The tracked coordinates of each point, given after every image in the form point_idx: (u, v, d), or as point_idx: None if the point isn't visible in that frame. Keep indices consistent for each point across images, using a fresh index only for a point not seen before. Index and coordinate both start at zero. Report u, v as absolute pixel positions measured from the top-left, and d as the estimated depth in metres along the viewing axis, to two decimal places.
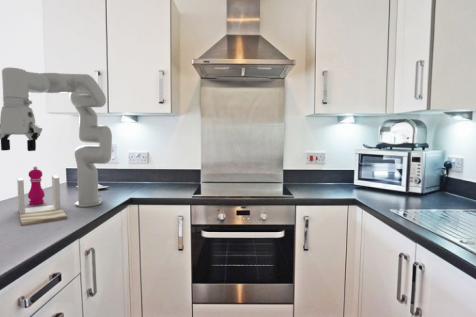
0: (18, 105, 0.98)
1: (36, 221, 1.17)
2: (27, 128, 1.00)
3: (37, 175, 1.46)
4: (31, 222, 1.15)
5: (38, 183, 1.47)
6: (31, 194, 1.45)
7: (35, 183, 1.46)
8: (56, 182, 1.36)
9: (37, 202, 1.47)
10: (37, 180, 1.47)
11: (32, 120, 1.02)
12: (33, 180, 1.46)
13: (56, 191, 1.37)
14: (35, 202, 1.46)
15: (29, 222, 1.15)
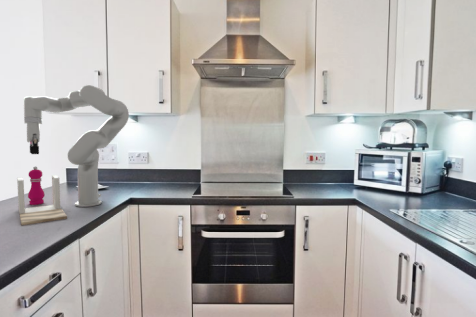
0: None
1: (36, 221, 1.17)
2: None
3: (37, 175, 1.46)
4: (31, 222, 1.15)
5: (38, 183, 1.47)
6: (31, 194, 1.45)
7: (35, 183, 1.46)
8: (56, 182, 1.36)
9: (37, 202, 1.47)
10: (37, 180, 1.47)
11: None
12: (33, 180, 1.46)
13: (56, 191, 1.37)
14: (35, 202, 1.46)
15: (29, 222, 1.15)
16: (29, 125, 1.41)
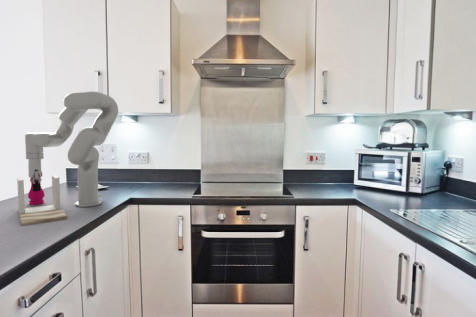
0: None
1: (36, 221, 1.17)
2: None
3: None
4: (31, 222, 1.15)
5: None
6: (31, 194, 1.45)
7: None
8: (56, 182, 1.36)
9: (37, 202, 1.47)
10: None
11: None
12: None
13: (56, 191, 1.37)
14: (35, 202, 1.46)
15: (29, 222, 1.15)
16: (31, 161, 1.43)
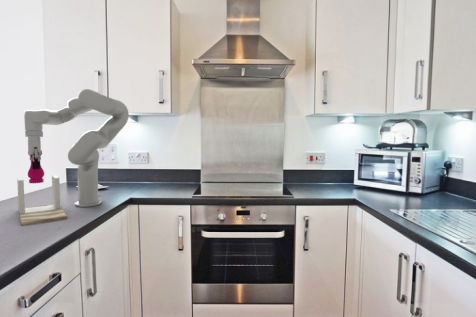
0: None
1: (36, 221, 1.17)
2: None
3: None
4: (31, 222, 1.15)
5: None
6: (30, 172, 1.44)
7: None
8: (56, 182, 1.36)
9: (37, 181, 1.45)
10: None
11: None
12: (32, 158, 1.44)
13: (56, 191, 1.37)
14: (35, 180, 1.45)
15: (29, 222, 1.15)
16: (30, 138, 1.41)
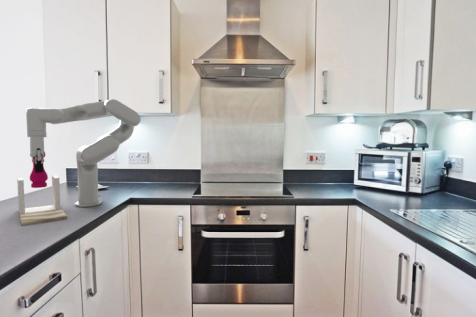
0: None
1: (36, 221, 1.17)
2: None
3: None
4: (31, 222, 1.15)
5: None
6: (33, 176, 1.32)
7: None
8: (56, 182, 1.36)
9: (40, 185, 1.33)
10: None
11: None
12: None
13: (56, 191, 1.37)
14: (37, 185, 1.33)
15: (29, 222, 1.15)
16: (32, 139, 1.29)
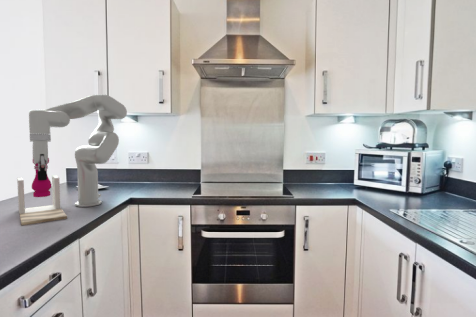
0: None
1: (36, 221, 1.17)
2: None
3: None
4: (31, 222, 1.15)
5: None
6: (35, 184, 1.20)
7: None
8: (56, 182, 1.36)
9: (43, 194, 1.21)
10: None
11: None
12: (37, 168, 1.20)
13: (56, 191, 1.37)
14: (40, 194, 1.21)
15: (29, 222, 1.15)
16: (35, 144, 1.18)
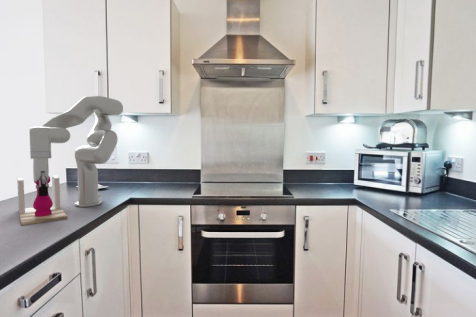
0: None
1: (36, 221, 1.17)
2: None
3: None
4: (31, 222, 1.15)
5: None
6: (36, 204, 1.21)
7: None
8: (56, 182, 1.36)
9: (44, 213, 1.22)
10: None
11: None
12: None
13: (56, 191, 1.37)
14: (42, 213, 1.22)
15: (29, 222, 1.15)
16: (36, 161, 1.18)
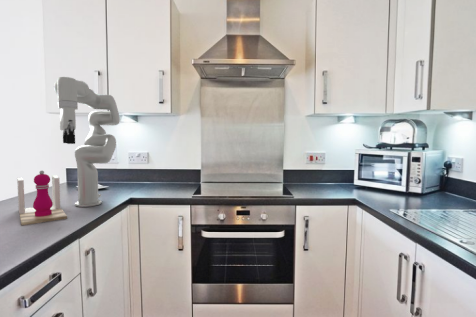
0: None
1: (36, 221, 1.17)
2: None
3: (44, 181, 1.22)
4: (31, 222, 1.15)
5: (45, 190, 1.23)
6: (36, 204, 1.21)
7: (42, 190, 1.22)
8: (56, 182, 1.36)
9: (44, 213, 1.22)
10: (44, 187, 1.22)
11: None
12: (39, 187, 1.21)
13: (56, 191, 1.37)
14: (42, 213, 1.22)
15: (29, 222, 1.15)
16: (64, 110, 1.21)
